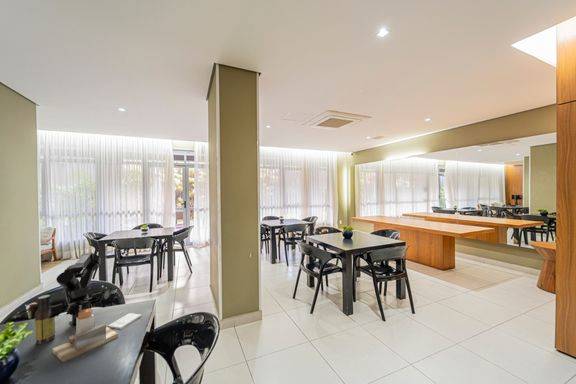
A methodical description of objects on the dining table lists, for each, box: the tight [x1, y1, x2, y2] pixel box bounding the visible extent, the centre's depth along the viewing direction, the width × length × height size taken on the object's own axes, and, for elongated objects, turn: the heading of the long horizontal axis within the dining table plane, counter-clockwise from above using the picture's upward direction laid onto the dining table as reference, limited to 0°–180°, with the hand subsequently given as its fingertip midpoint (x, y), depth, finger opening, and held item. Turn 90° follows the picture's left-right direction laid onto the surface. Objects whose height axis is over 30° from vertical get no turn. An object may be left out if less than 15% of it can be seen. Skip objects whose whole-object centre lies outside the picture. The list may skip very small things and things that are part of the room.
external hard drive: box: [106, 312, 142, 330], centre depth 121 cm, size 2×8×12 cm
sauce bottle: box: [34, 294, 56, 345], centre depth 105 cm, size 6×6×20 cm
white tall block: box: [75, 308, 95, 335], centre depth 104 cm, size 5×5×12 cm
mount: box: [52, 323, 119, 363], centre depth 103 cm, size 12×19×8 cm, turn 149°
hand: (82, 320), depth 105 cm, fingers closed, pressing on white tall block
